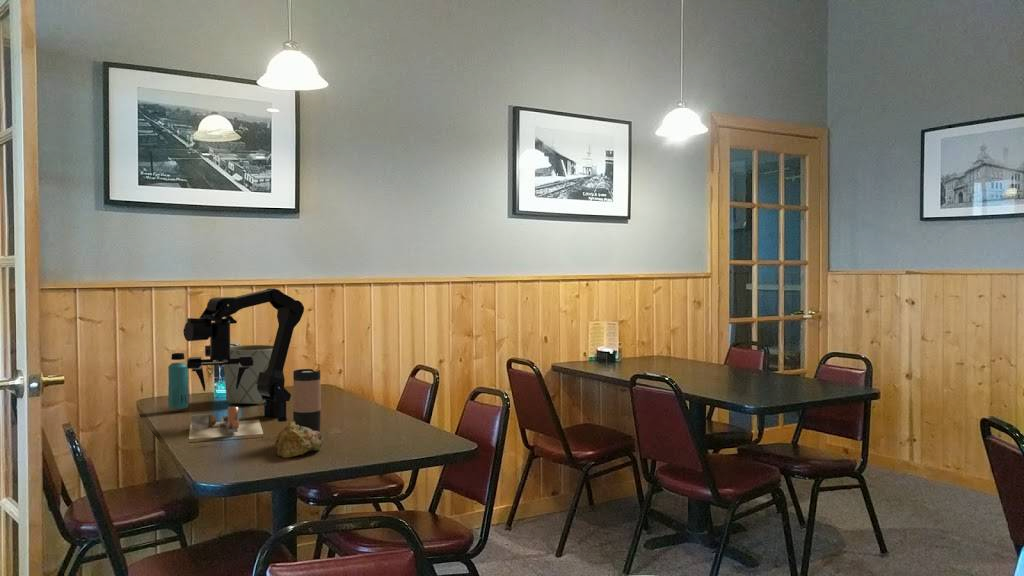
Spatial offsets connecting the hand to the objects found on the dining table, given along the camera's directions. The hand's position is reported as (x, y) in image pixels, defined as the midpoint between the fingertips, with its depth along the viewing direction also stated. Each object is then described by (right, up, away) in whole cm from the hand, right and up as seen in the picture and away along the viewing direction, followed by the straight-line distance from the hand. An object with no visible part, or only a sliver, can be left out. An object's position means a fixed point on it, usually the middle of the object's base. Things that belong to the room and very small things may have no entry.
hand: (220, 389), depth 238 cm
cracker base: (+4, -12, -5) cm, 14 cm away
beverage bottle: (-25, -11, +28) cm, 39 cm away
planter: (-7, -11, +48) cm, 49 cm away
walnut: (-2, -11, -3) cm, 11 cm away
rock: (+33, -13, -31) cm, 47 cm away
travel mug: (+30, -13, -14) cm, 36 cm away
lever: (+5, -10, -6) cm, 13 cm away
